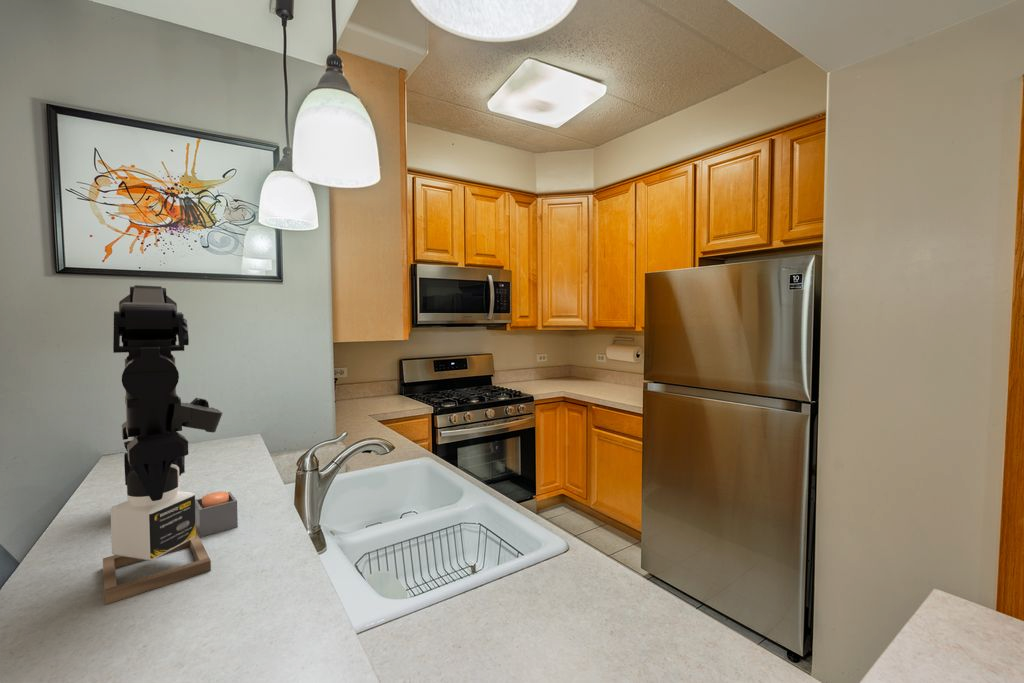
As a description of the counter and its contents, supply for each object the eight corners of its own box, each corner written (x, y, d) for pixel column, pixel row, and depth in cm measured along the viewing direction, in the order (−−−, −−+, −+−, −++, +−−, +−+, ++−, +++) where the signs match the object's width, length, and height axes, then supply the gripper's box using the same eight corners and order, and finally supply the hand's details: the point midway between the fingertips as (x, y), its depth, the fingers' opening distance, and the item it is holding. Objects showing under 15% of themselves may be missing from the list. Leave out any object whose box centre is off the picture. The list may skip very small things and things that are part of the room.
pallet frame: (103, 568, 66) (102, 558, 66) (197, 541, 74) (197, 532, 74) (105, 604, 57) (104, 593, 57) (210, 570, 65) (210, 560, 65)
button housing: (194, 526, 79) (193, 500, 79) (230, 516, 83) (230, 491, 83) (200, 537, 75) (199, 509, 75) (237, 526, 79) (237, 500, 79)
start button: (200, 506, 79) (199, 495, 79) (226, 500, 82) (225, 489, 82) (204, 513, 76) (204, 502, 76) (231, 507, 79) (230, 496, 79)
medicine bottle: (151, 561, 61) (148, 477, 61) (110, 555, 63) (107, 473, 62) (197, 537, 68) (195, 461, 68) (159, 531, 70) (157, 457, 69)
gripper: (230, 392, 63) (232, 497, 64) (205, 378, 76) (207, 465, 77) (127, 401, 55) (131, 521, 56) (120, 384, 69) (123, 481, 70)
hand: (154, 493), depth 65 cm, fingers closed on medicine bottle, 6 cm apart
